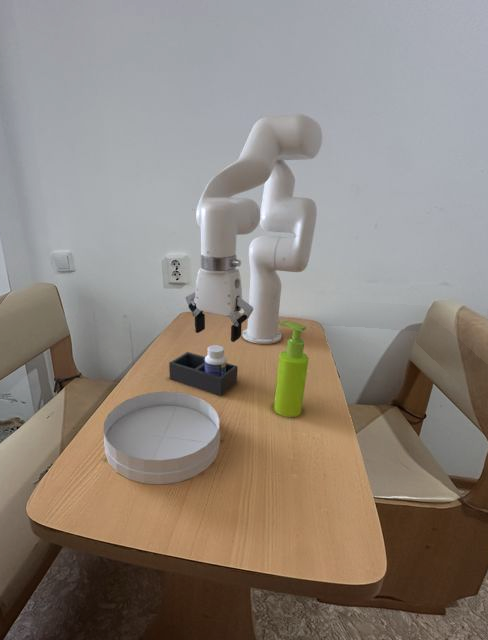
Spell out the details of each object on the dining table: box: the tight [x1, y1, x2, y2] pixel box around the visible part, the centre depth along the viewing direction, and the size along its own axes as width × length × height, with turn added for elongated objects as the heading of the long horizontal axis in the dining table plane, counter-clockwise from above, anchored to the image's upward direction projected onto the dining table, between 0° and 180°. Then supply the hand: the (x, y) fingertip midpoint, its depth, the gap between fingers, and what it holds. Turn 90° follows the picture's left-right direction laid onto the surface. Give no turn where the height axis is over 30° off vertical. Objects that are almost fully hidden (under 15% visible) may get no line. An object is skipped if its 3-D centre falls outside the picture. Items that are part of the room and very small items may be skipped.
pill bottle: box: [204, 344, 227, 377], centre depth 91 cm, size 5×5×9 cm
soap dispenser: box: [273, 320, 310, 418], centre depth 79 cm, size 6×7×20 cm
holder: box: [168, 351, 239, 397], centre depth 94 cm, size 8×15×5 cm, turn 56°
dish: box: [103, 391, 221, 486], centre depth 71 cm, size 22×22×5 cm
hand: (217, 335), depth 88 cm, fingers open, 9 cm apart
